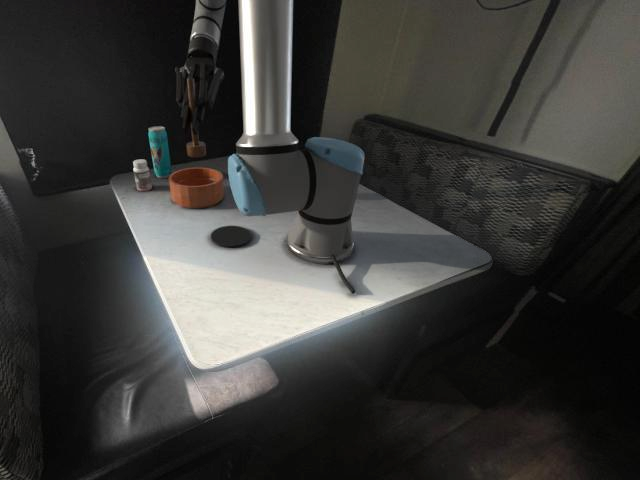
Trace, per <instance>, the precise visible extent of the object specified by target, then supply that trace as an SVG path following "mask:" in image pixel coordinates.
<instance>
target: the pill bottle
mask: <svg viewBox="0 0 640 480" xmlns="http://www.w3.org/2000/svg"><path fill="white" fill-rule="evenodd" d="M132 165H133V168H132V170H133V176H134V181H135V187H136V189H137V190H138V191H149V190H151V189H152V188H153V184H152V179H151V173H150V168H149V166H148V161H147V160H146V159H144V158H143V159H141V158H140V159H139V158H138V159H135V160H133V161H132Z"/></svg>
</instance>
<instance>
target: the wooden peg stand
mask: <svg viewBox="0 0 640 480" xmlns="http://www.w3.org/2000/svg"><path fill="white" fill-rule="evenodd" d="M187 86H188V97H189V109H190V120H191V121H190V131H191V140H192V141H190V142H189V141H188V142H187V143H186V154H187V156H188V157H190V158H203V157H205V156H206V155H207V148H206V142H204V141H200V137H199V135H200V134H199V132H198V133H197V135H194V133H193V131H192V123H193V117H194V111H195V105H197V96H196V87H195V83H194V78H188V77H187V78H186V87H187Z"/></svg>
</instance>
